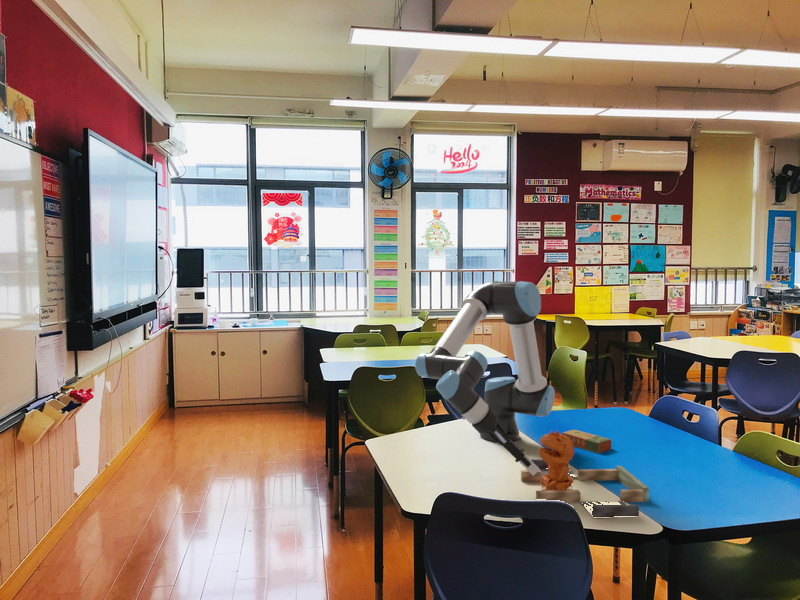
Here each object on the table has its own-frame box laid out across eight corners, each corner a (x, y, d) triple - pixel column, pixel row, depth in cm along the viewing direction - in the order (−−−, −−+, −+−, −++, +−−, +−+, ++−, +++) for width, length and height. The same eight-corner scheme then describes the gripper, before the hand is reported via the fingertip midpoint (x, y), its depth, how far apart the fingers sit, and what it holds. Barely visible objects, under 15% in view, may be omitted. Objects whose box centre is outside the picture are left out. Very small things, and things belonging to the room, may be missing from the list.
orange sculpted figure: (531, 484, 171) (532, 425, 170) (566, 483, 172) (567, 424, 171) (543, 498, 160) (544, 436, 159) (581, 497, 161) (582, 435, 160)
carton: (574, 439, 218) (574, 428, 218) (611, 450, 205) (612, 438, 205) (561, 443, 213) (561, 432, 213) (598, 454, 200) (599, 442, 200)
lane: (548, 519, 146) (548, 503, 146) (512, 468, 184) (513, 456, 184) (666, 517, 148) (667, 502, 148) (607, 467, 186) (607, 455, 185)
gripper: (467, 418, 170) (521, 472, 171) (474, 430, 157) (532, 489, 158) (485, 401, 170) (538, 455, 171) (493, 412, 157) (551, 470, 158)
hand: (535, 471), depth 164 cm, fingers closed
